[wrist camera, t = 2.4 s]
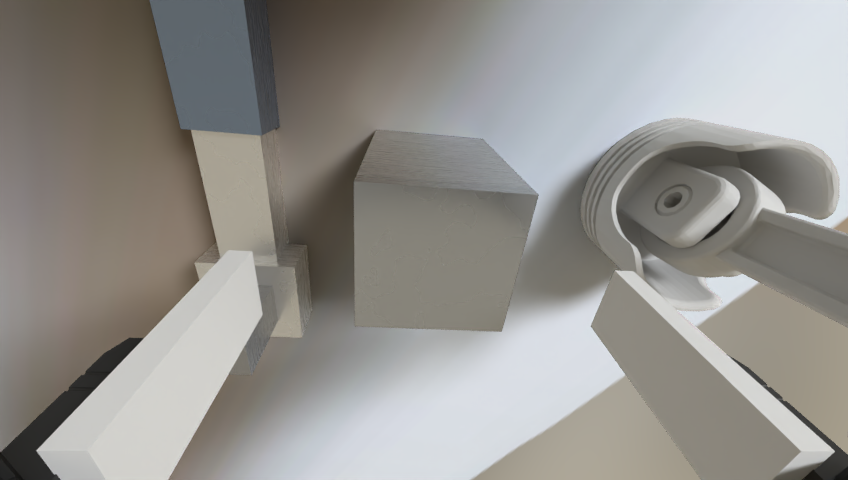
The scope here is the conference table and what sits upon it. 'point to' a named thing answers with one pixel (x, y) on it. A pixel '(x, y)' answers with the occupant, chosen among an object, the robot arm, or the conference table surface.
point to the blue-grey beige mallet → (237, 150)
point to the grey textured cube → (437, 233)
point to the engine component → (719, 214)
